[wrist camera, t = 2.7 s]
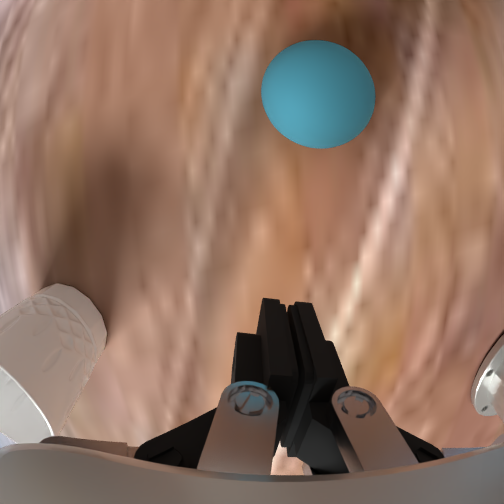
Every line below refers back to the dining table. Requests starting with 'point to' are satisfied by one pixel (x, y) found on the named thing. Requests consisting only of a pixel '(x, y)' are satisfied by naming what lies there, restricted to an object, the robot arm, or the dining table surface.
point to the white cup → (46, 360)
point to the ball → (318, 94)
